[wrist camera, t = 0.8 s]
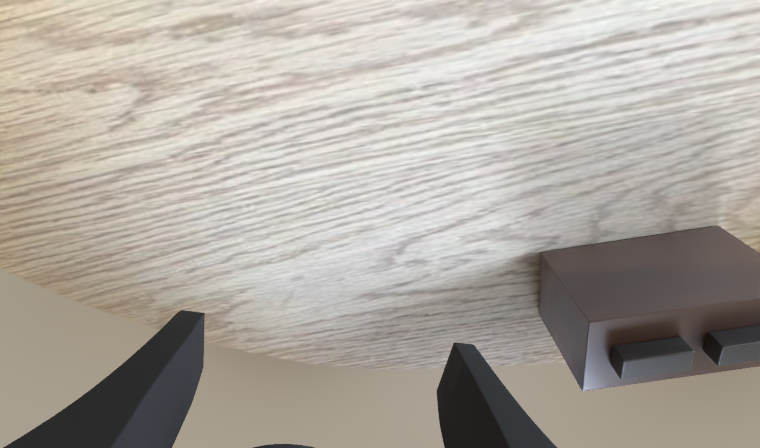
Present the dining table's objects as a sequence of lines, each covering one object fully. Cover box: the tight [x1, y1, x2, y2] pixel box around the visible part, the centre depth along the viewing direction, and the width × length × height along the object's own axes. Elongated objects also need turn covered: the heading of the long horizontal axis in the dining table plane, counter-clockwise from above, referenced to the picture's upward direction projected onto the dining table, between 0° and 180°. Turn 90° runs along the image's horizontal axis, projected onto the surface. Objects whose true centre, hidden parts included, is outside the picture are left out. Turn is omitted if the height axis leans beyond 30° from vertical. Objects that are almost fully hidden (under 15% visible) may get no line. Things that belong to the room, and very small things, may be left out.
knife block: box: [539, 226, 760, 391], centre depth 23 cm, size 4×10×7 cm, turn 98°
